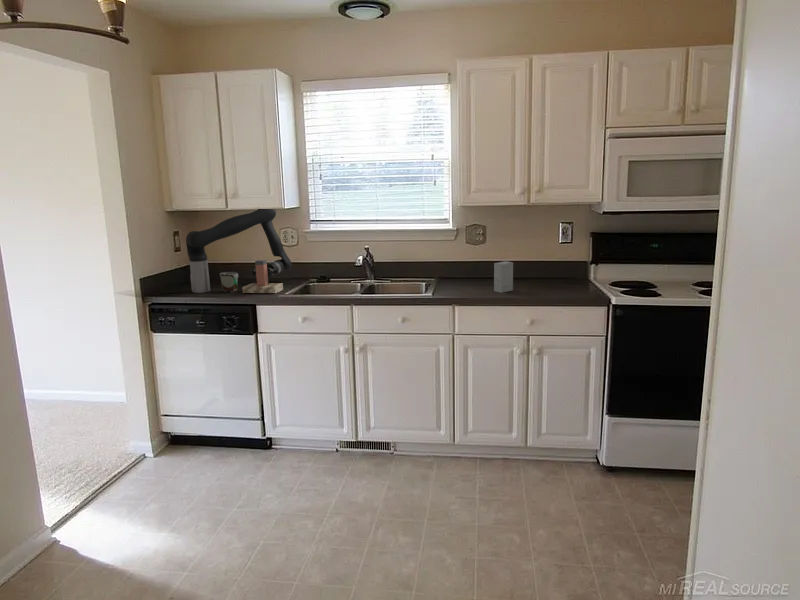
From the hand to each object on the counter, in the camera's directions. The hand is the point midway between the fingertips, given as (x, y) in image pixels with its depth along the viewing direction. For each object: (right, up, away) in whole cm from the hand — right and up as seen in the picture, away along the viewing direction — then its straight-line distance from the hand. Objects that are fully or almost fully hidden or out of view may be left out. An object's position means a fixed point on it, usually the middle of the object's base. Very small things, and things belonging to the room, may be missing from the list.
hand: (260, 273), depth 301 cm
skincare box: (+128, -10, -14) cm, 129 cm away
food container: (-18, -9, +9) cm, 22 cm away
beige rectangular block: (0, -10, +3) cm, 10 cm away
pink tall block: (0, -10, +4) cm, 10 cm away
